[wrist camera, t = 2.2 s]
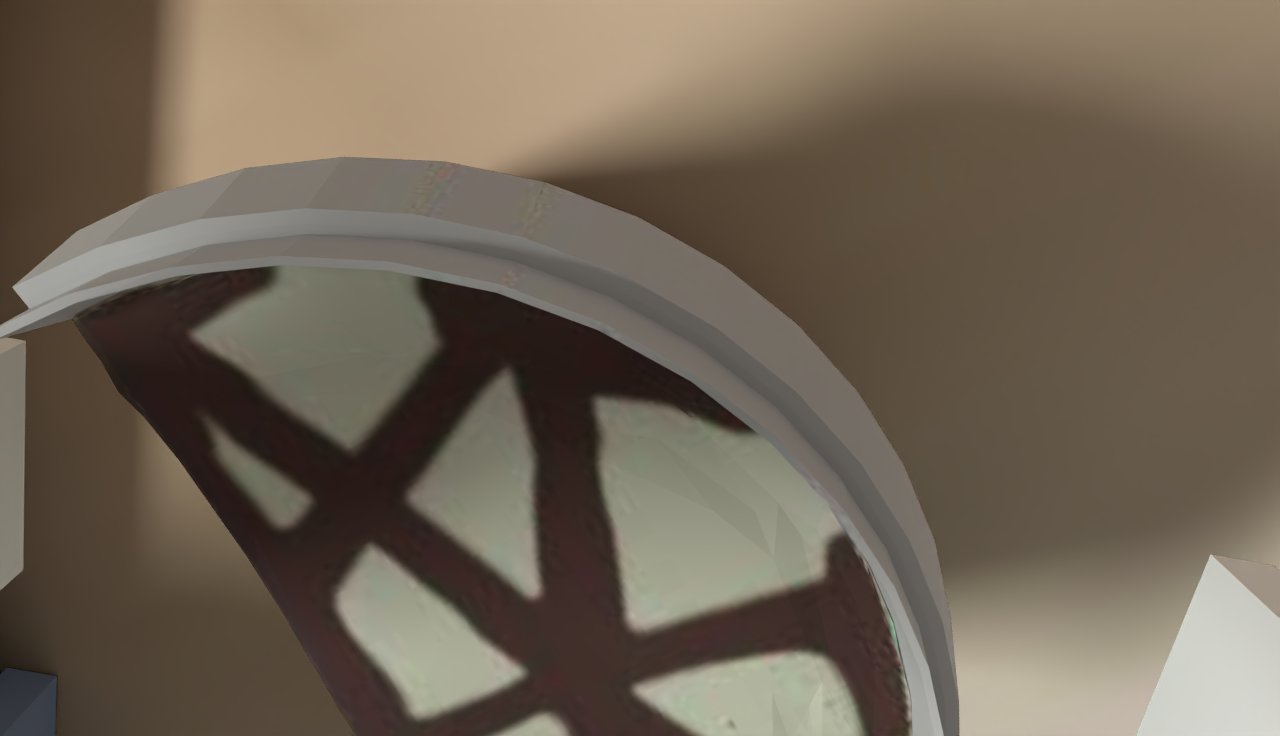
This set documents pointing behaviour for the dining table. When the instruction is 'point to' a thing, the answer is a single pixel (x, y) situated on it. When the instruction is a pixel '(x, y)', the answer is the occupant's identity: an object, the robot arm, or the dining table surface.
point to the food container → (517, 456)
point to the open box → (27, 703)
